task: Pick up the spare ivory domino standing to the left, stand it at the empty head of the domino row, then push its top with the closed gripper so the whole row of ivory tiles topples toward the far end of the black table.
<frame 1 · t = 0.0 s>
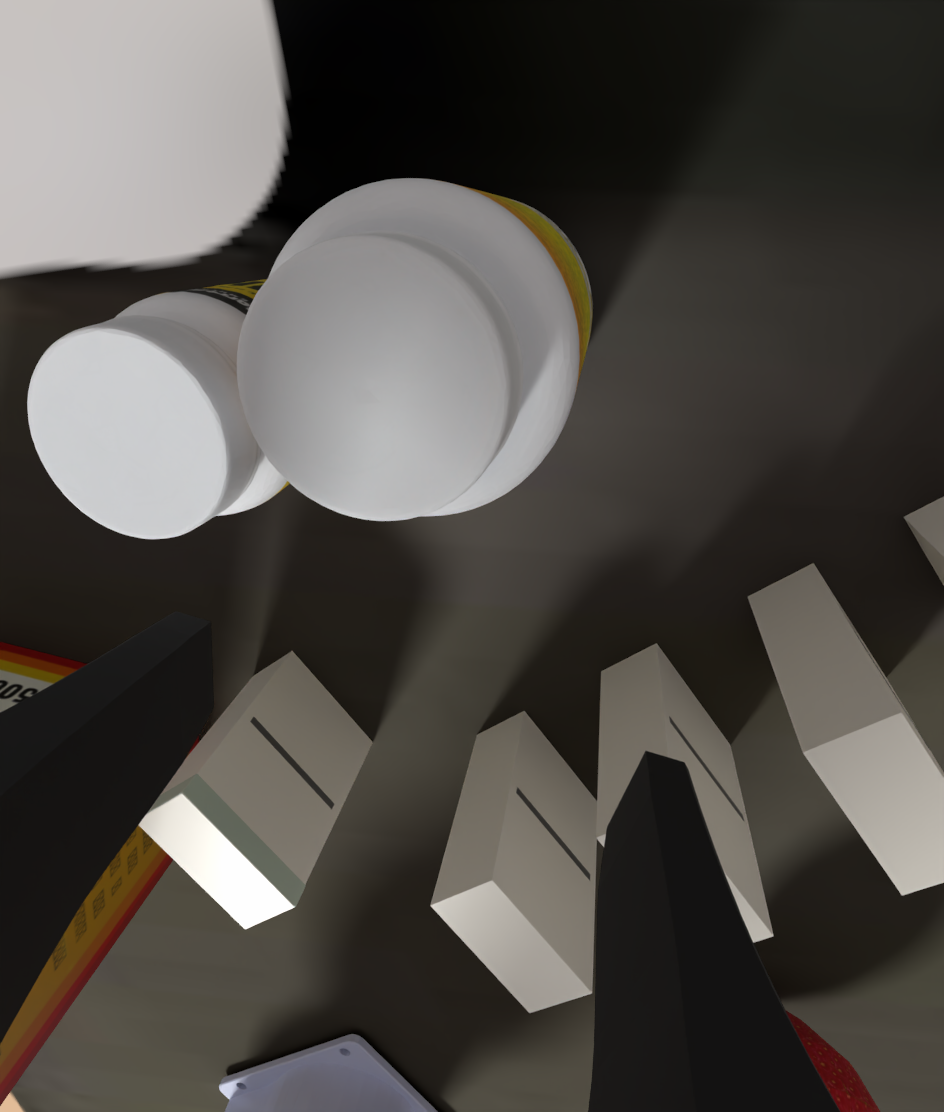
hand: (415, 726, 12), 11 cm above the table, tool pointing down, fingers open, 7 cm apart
domino 2: (537, 768, 25), on the table
domino 3: (666, 708, 23), on the table
domino head: (313, 709, 26), on the table
domino 4: (817, 637, 21), on the table
baking soda box: (87, 727, 28), on the table
supplement bottle: (308, 362, 21), on the table
strawberry: (751, 989, 28), on the table
supplement bottle 2: (488, 313, 19), on the table
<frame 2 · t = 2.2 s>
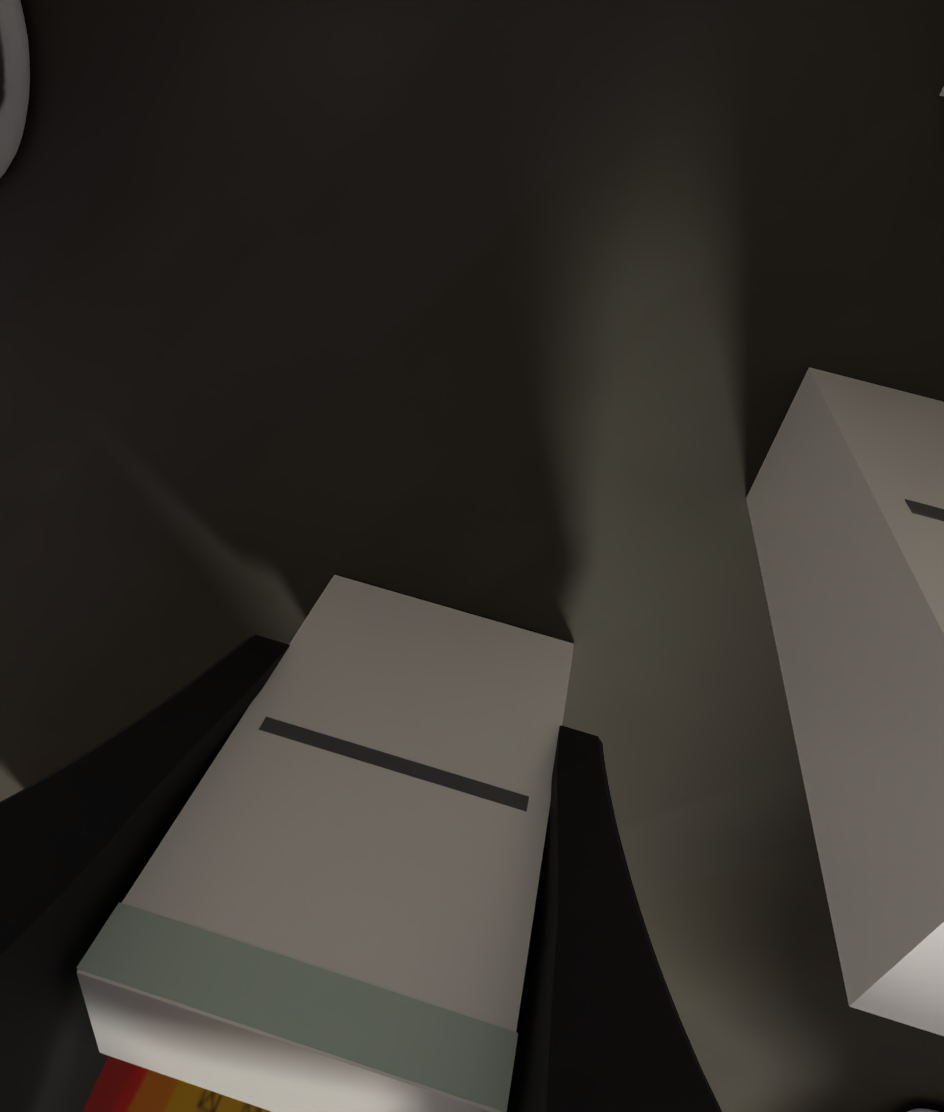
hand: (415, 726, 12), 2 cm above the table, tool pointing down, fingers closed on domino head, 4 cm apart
domino 2: (937, 479, 10), on the table
domino head: (443, 649, 13), on the table, touching gripper
baking soda box: (244, 848, 19), on the table
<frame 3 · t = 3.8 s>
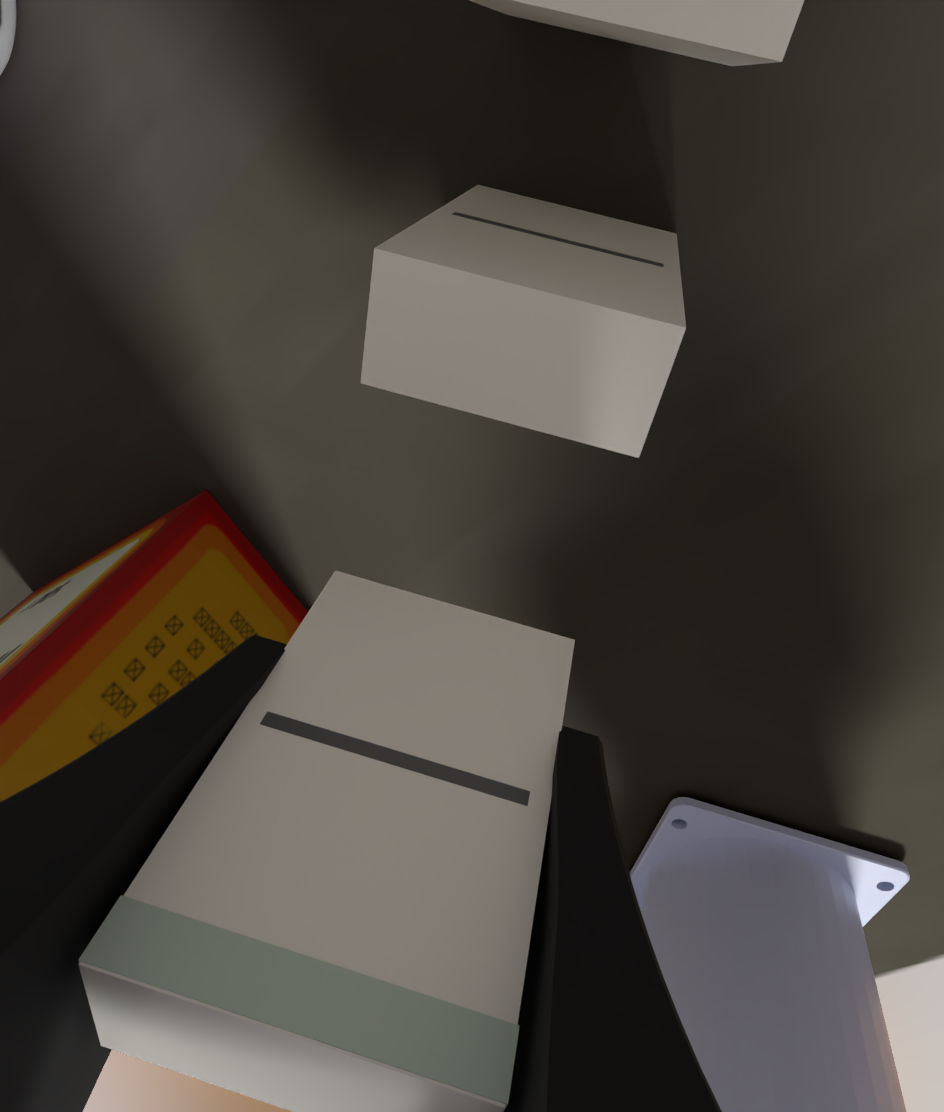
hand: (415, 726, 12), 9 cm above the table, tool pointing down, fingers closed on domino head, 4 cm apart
domino 2: (564, 256, 16), on the table
domino head: (444, 645, 13), point 7 cm above the table, touching gripper
baking soda box: (181, 614, 25), on the table
when the fingers open (3 cm above the table, at t = 5.4 s): domino head stays where it is, on the table.
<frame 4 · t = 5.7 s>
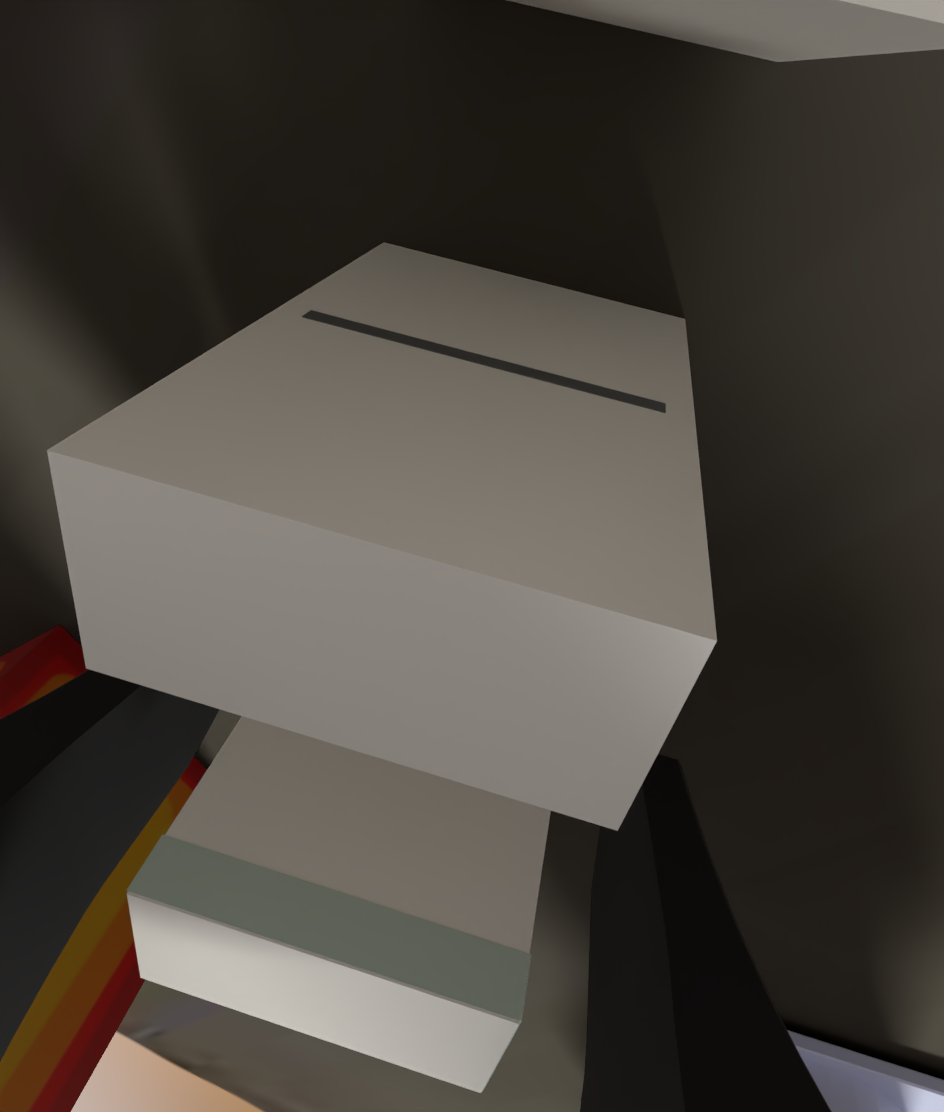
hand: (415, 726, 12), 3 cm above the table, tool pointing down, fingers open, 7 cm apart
domino 2: (516, 348, 11), on the table
domino head: (454, 620, 14), on the table
baking soda box: (54, 758, 20), on the table
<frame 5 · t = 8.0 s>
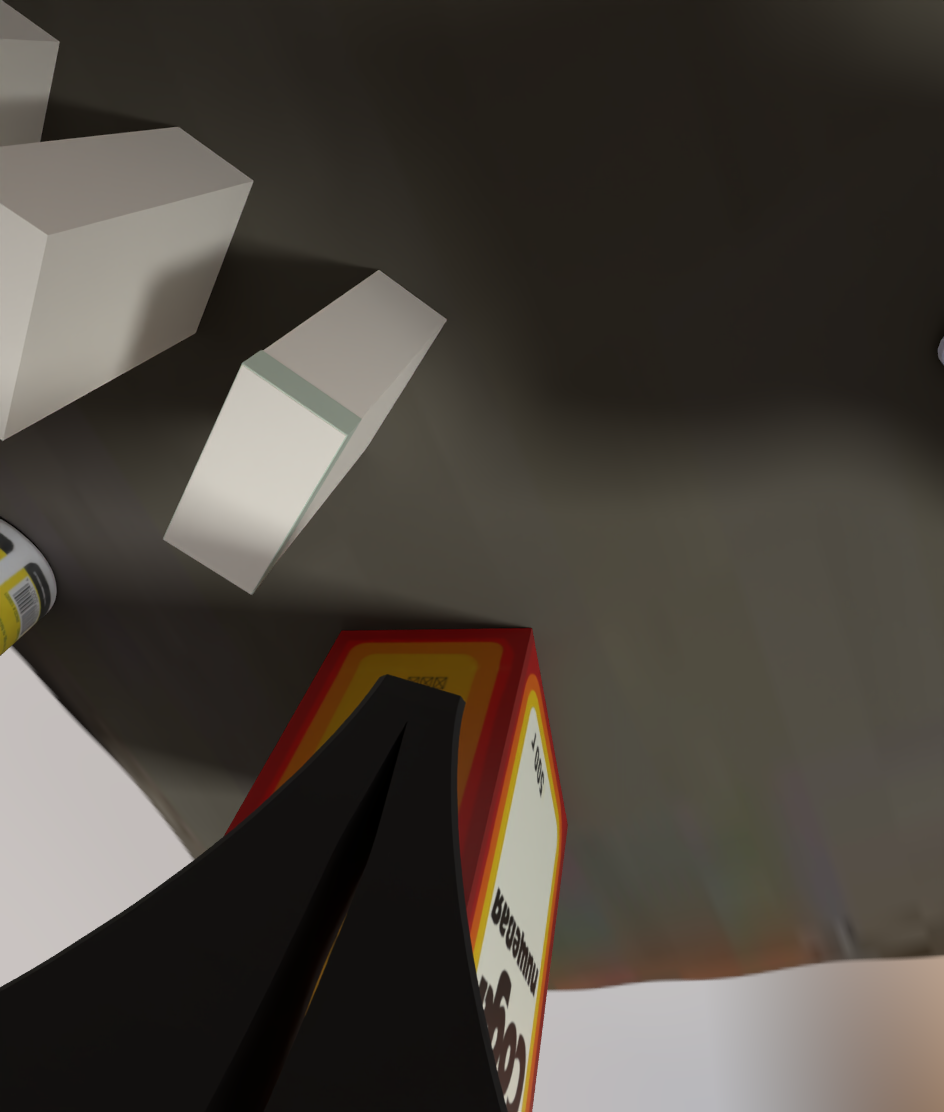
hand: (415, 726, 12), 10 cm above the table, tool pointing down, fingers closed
domino 2: (187, 237, 18), on the table
domino 3: (3, 110, 17), on the table
domino head: (372, 365, 19), on the table
baking soda box: (462, 729, 26), on the table
supplement bottle: (4, 560, 26), on the table
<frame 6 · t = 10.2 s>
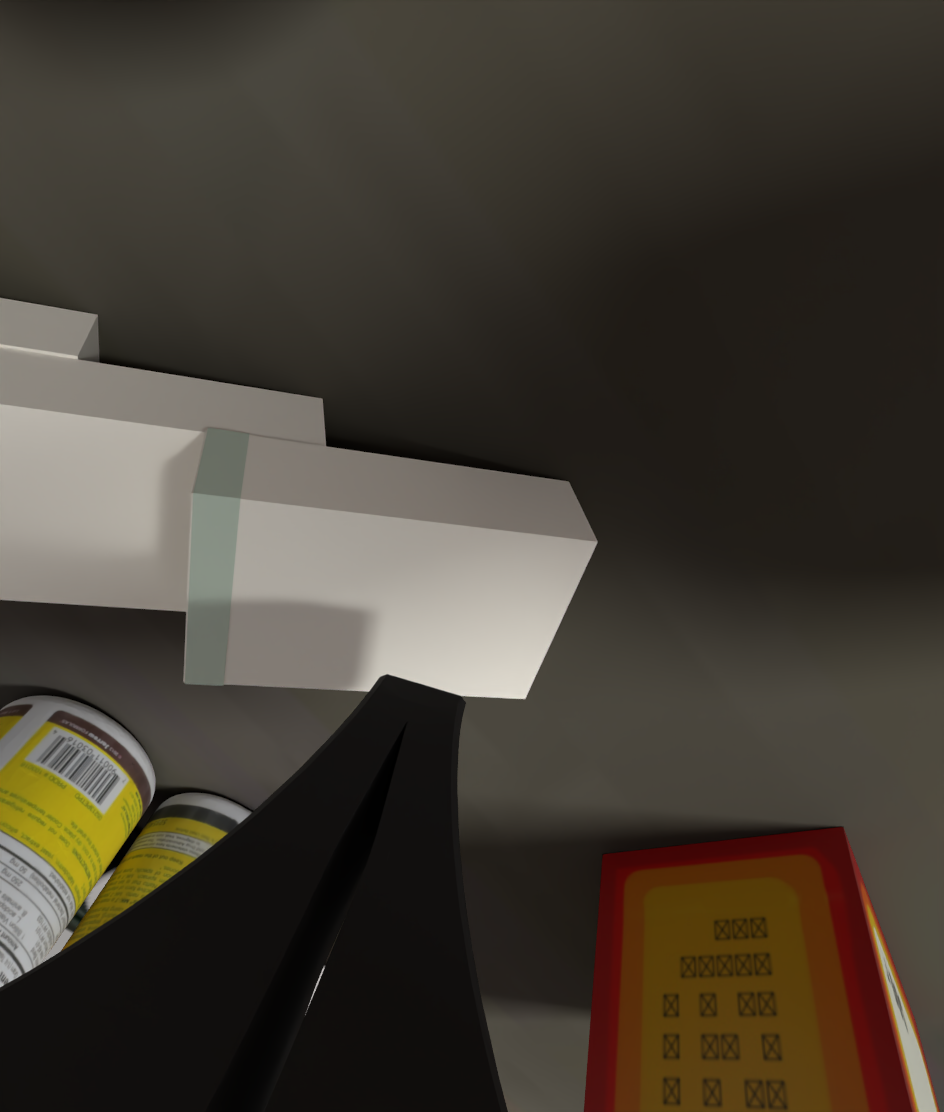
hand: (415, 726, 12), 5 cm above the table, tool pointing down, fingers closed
domino 2: (308, 512, 16), point 1 cm above the table, tilted 66°, touching domino 3, domino head
domino 3: (92, 431, 16), point 1 cm above the table, tilted 66°, touching domino 2, domino 4
domino head: (546, 593, 15), point 1 cm above the table, tilted 68°, touching domino 2
baking soda box: (762, 933, 22), on the table
supplement bottle: (227, 829, 25), on the table
supplement bottle 2: (90, 744, 24), on the table
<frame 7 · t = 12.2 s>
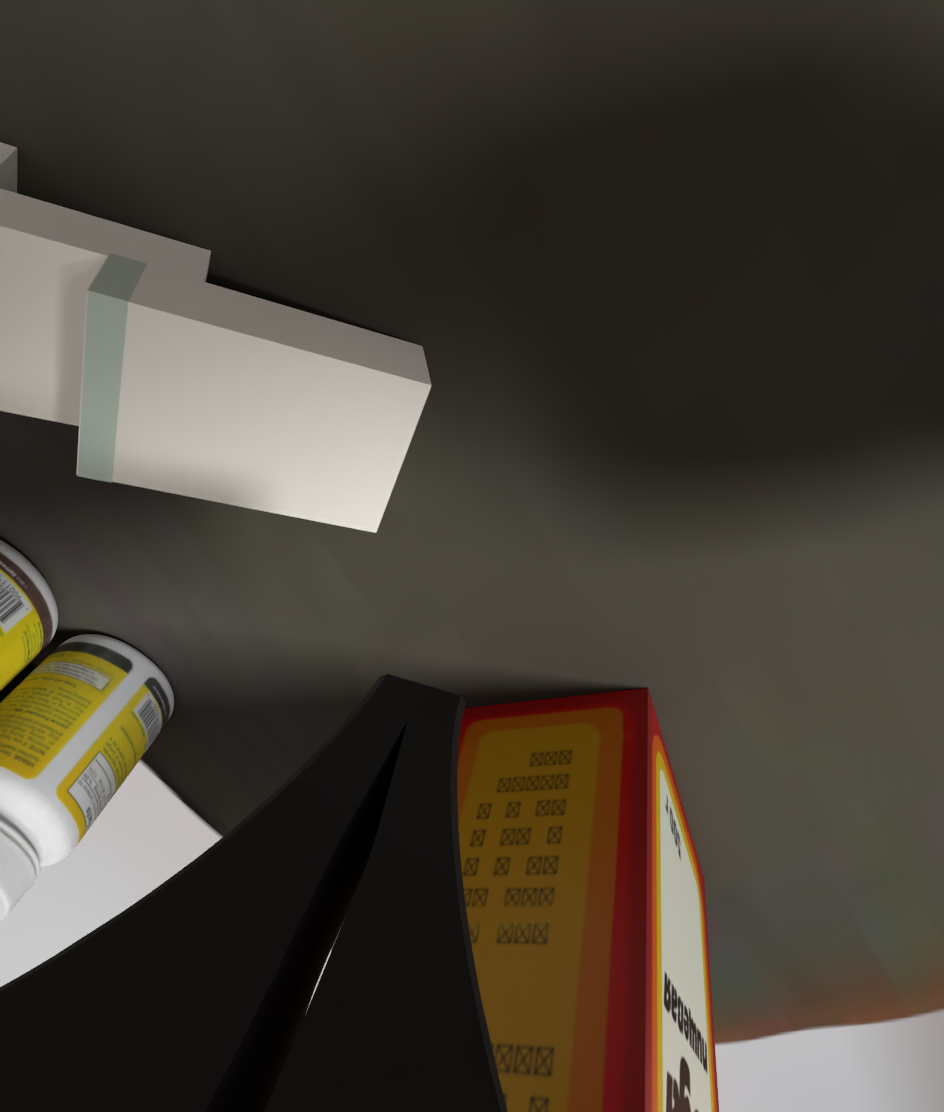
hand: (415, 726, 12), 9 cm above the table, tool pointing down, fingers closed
domino 2: (194, 351, 18), point 1 cm above the table, tilted 66°, touching domino 3, domino head
domino 3: (6, 253, 18), point 1 cm above the table, tilted 65°, touching domino 2, domino 4
domino head: (398, 442, 18), point 1 cm above the table, tilted 68°, touching domino 2
baking soda box: (584, 792, 26), on the table
supplement bottle: (122, 676, 27), on the table
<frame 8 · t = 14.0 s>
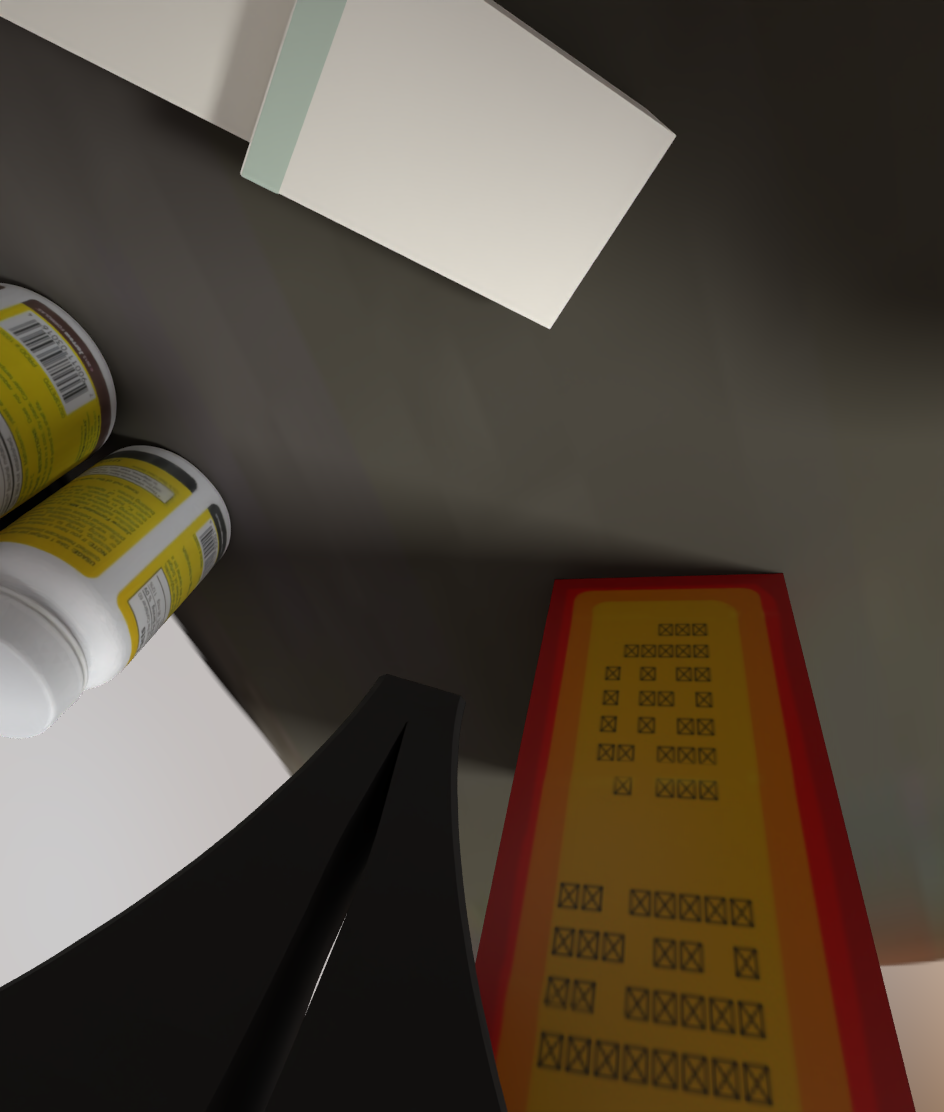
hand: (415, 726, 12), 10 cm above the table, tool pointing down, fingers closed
domino 2: (373, 67, 15), point 1 cm above the table, tilted 66°, touching domino 3, domino head
domino head: (596, 222, 16), point 1 cm above the table, tilted 68°, touching domino 2
baking soda box: (669, 690, 24), on the table
supplement bottle: (171, 504, 24), on the table
supplement bottle 2: (47, 369, 22), on the table
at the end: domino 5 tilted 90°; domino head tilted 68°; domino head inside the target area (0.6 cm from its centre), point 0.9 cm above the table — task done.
